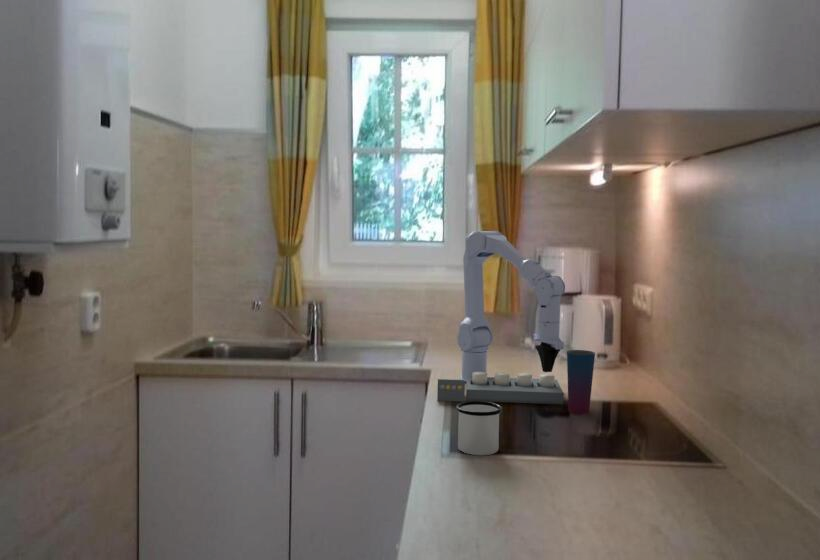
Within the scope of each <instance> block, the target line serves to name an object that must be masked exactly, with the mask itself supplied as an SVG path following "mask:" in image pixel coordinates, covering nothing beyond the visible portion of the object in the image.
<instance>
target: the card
mask: <svg viewBox="0 0 820 560" xmlns="http://www.w3.org/2000/svg"><path fill="white" fill-rule="evenodd" d="M465 384H466V382H465V379H459V378H437V394H436V395H437V398H436V399H437V400H436V401H438V400H443V401H444V402H445V401H446V402H465V393H466V390H465V388H466V387H465V386H466V385H465ZM443 401H442V402H443Z"/></svg>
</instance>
